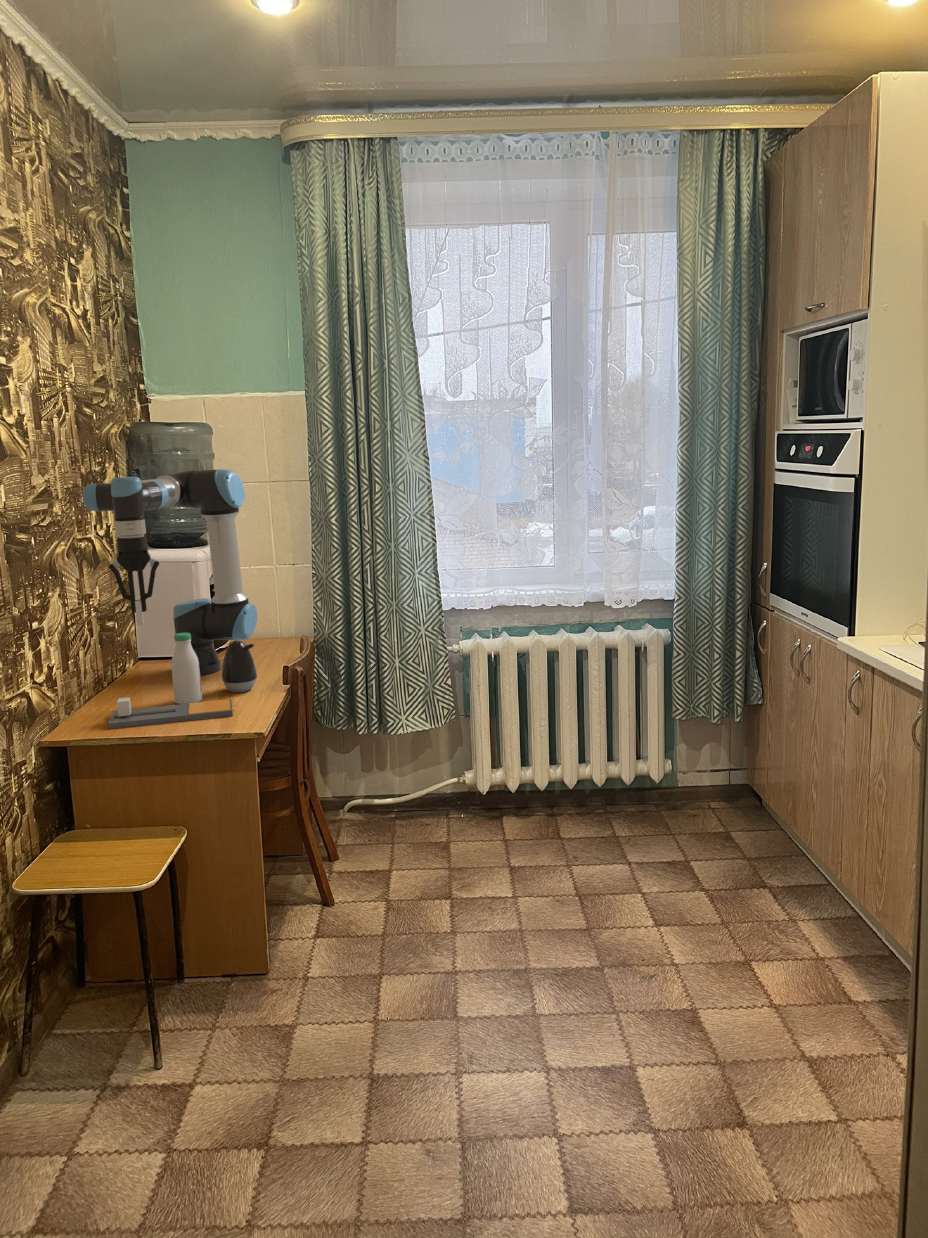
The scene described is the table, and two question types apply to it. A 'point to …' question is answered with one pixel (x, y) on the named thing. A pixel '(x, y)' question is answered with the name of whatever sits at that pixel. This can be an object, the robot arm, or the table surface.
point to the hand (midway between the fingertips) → (140, 623)
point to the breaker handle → (124, 706)
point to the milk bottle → (185, 671)
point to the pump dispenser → (239, 667)
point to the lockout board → (172, 713)
